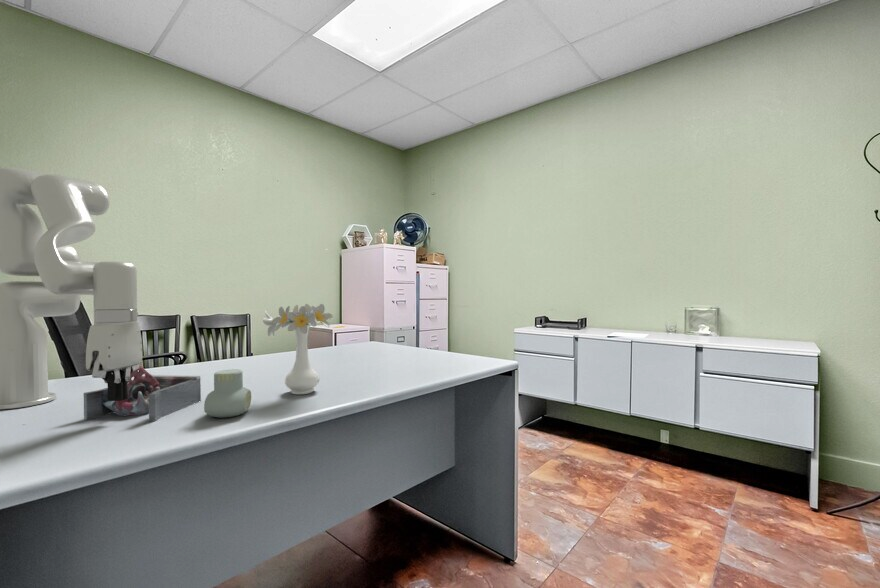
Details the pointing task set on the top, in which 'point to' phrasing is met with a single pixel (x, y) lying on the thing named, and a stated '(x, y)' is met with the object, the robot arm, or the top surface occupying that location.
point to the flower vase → (300, 343)
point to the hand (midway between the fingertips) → (117, 399)
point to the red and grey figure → (135, 394)
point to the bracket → (152, 397)
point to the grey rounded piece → (228, 395)
